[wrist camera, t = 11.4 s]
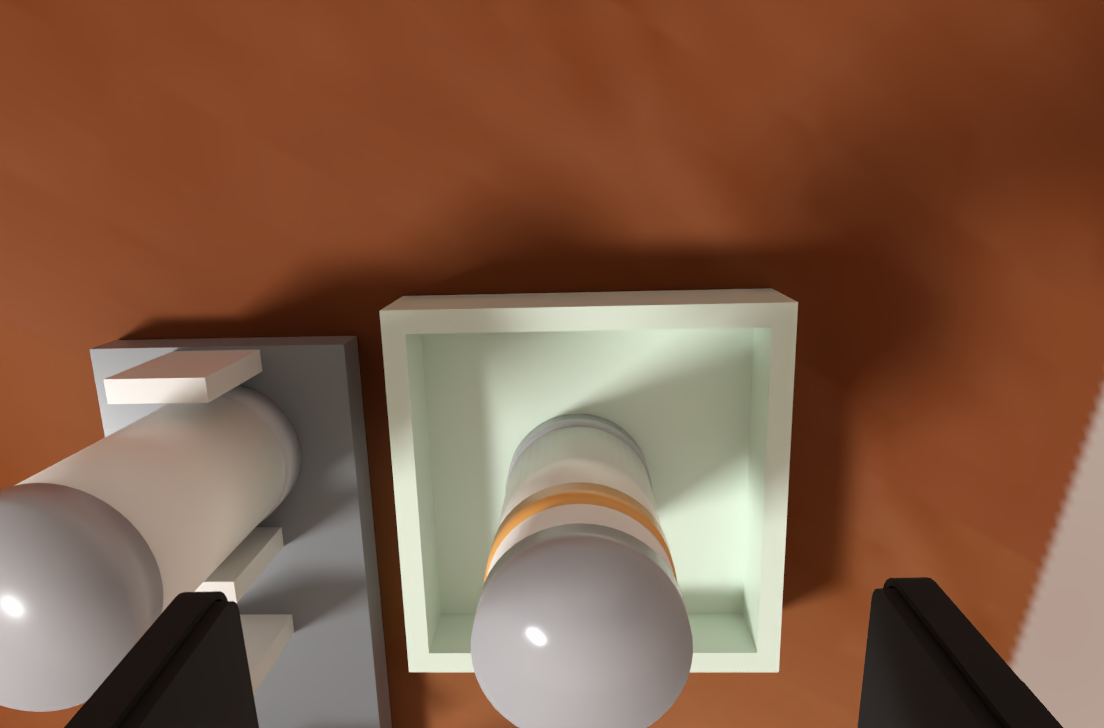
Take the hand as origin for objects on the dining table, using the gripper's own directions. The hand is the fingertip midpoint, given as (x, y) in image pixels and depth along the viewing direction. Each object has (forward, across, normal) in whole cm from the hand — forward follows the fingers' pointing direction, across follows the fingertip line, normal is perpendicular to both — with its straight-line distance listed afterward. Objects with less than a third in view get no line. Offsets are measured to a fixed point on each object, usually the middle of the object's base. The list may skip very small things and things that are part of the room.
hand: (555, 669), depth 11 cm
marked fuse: (+10, -1, +2) cm, 10 cm away
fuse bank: (+11, +9, +9) cm, 16 cm away
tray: (+11, -1, +2) cm, 11 cm away
